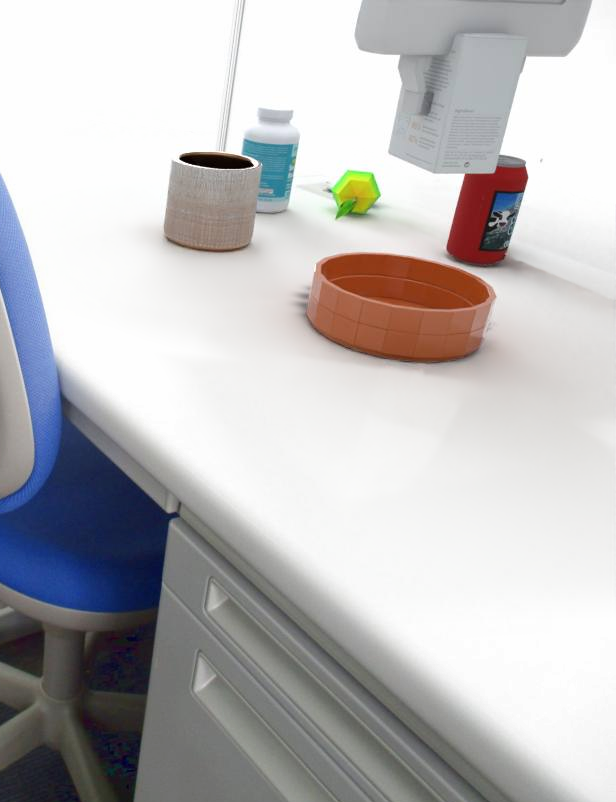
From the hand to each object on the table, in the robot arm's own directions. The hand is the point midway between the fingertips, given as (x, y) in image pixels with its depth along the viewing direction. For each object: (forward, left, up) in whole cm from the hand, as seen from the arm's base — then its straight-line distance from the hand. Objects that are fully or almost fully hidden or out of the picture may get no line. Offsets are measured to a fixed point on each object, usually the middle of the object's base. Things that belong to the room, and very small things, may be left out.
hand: (450, 114), depth 72 cm
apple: (-23, -38, -20) cm, 49 cm away
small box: (0, 0, -4) cm, 4 cm away
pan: (-1, -2, -20) cm, 20 cm away
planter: (+3, -32, -20) cm, 38 cm away
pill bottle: (-12, -44, -20) cm, 50 cm away
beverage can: (-26, -18, -20) cm, 38 cm away
